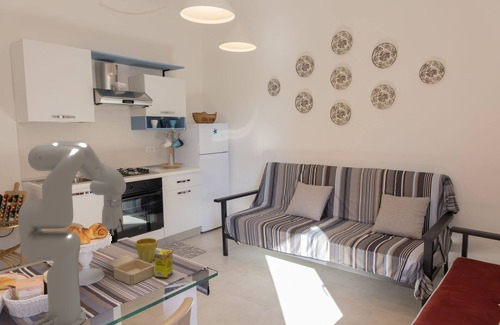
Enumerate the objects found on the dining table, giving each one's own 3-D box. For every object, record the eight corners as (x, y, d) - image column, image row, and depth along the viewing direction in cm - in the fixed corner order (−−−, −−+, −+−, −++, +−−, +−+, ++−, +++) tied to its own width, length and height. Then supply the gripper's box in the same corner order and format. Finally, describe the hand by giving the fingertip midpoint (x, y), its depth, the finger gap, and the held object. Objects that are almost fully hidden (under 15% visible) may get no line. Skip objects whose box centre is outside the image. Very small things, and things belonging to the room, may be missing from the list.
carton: (131, 286, 145) (131, 275, 144) (113, 278, 152) (112, 268, 151) (156, 274, 156) (156, 264, 155) (138, 268, 163) (137, 258, 162)
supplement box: (167, 279, 151) (166, 255, 150) (154, 277, 153) (154, 253, 151) (173, 273, 157) (172, 250, 156) (160, 272, 158) (160, 249, 157)
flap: (107, 261, 155) (107, 262, 155) (115, 267, 152) (115, 267, 152) (127, 254, 164) (127, 255, 164) (135, 259, 161) (135, 259, 161)
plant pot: (161, 260, 172) (161, 241, 171) (142, 266, 165) (141, 246, 163) (151, 254, 179) (150, 236, 178) (132, 260, 172) (131, 240, 171)
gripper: (95, 202, 159) (96, 241, 160) (115, 206, 151) (116, 247, 152) (110, 200, 165) (110, 237, 167) (130, 203, 157) (130, 243, 158)
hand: (113, 242), depth 159 cm, fingers closed
